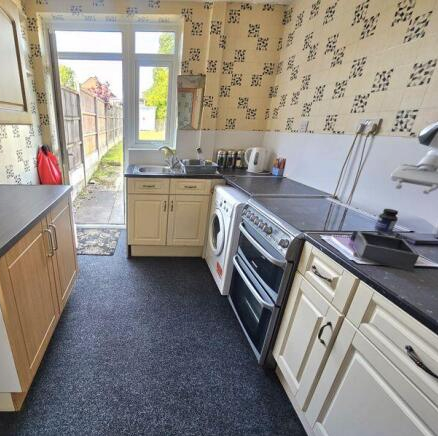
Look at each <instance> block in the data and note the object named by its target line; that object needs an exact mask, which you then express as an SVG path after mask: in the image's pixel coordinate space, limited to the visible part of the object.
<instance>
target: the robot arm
mask: <svg viewBox="0 0 438 436" xmlns="http://www.w3.org/2000/svg"><path fill="white" fill-rule="evenodd" d="M417 137H418V138H417V139H418V143H419V144H420V145H421V146H422V145H423V146H426V147H430V148H431V147H432V148H434V149H436V150H438V120H436V121H434V122H433V123H431V124H429V125H427V126H425V128H423V129H422V131H420V132H419V134H418V135H417ZM428 151H429V150H428ZM428 151H427V152H428ZM427 152H426V154H427V155H426V154H425V156H423V157H422V158H421V159H420V160H419V162H418V163H417V164H416V165H414V164H407V163H405V164H401V165H398V166H397V167H396V169H395V170H394V171H392V172H391V174H390V180H391V181H393V182H396V183H397V184H396V185H395V190H396V189H397V190H401V189H402V188H403V183H404V184H410V185H416V186H423V187H426V188H425V189H424V190H423V192H422V193H423V194H424V195H429V194H430V193H431V192H435V191H436V190H437V189H438V152H437V151H435V150H431V151H429V152H428V153H427ZM427 187H428V188H427Z"/></svg>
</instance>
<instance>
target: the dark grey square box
mask: <svg viewBox="0 0 438 436" xmlns="http://www.w3.org/2000/svg"><path fill="white" fill-rule="evenodd" d="M352 246H353V248H354V251H355V253H356V254H357V257H358V258H359V260H360V261H363V262H368V263H372V264H377V265H382V266H386V267H390V268H395V269H399V270H404V271H409V272H413V270H414V267H415V265H416V263H417V261H418V259H419V257H420V254H419V252H418V251H416V250H415V249H414V248H413V246H411V244H410V243H409V242H408V241H407V240H406V239H404V238H400V237H394V236H388V235H383V234H377V233H371V232H365V231H361V230H358V231H357V233H356V236H355V239H354V241H353V244H352Z"/></svg>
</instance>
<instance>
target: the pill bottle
mask: <svg viewBox="0 0 438 436" xmlns="http://www.w3.org/2000/svg"><path fill="white" fill-rule="evenodd" d="M382 212H383V213H380V214H379V215H378V218H377V220H376V223H375V225H374V228H373V231H375V232H377V233H380V234H385V235H392V233H393V231H394V229H395V226H396V224H397V222H398V219H399V218H398V216H397V215H398V214H399V210H396V209H393V208H384V209H383V210H382Z"/></svg>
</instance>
